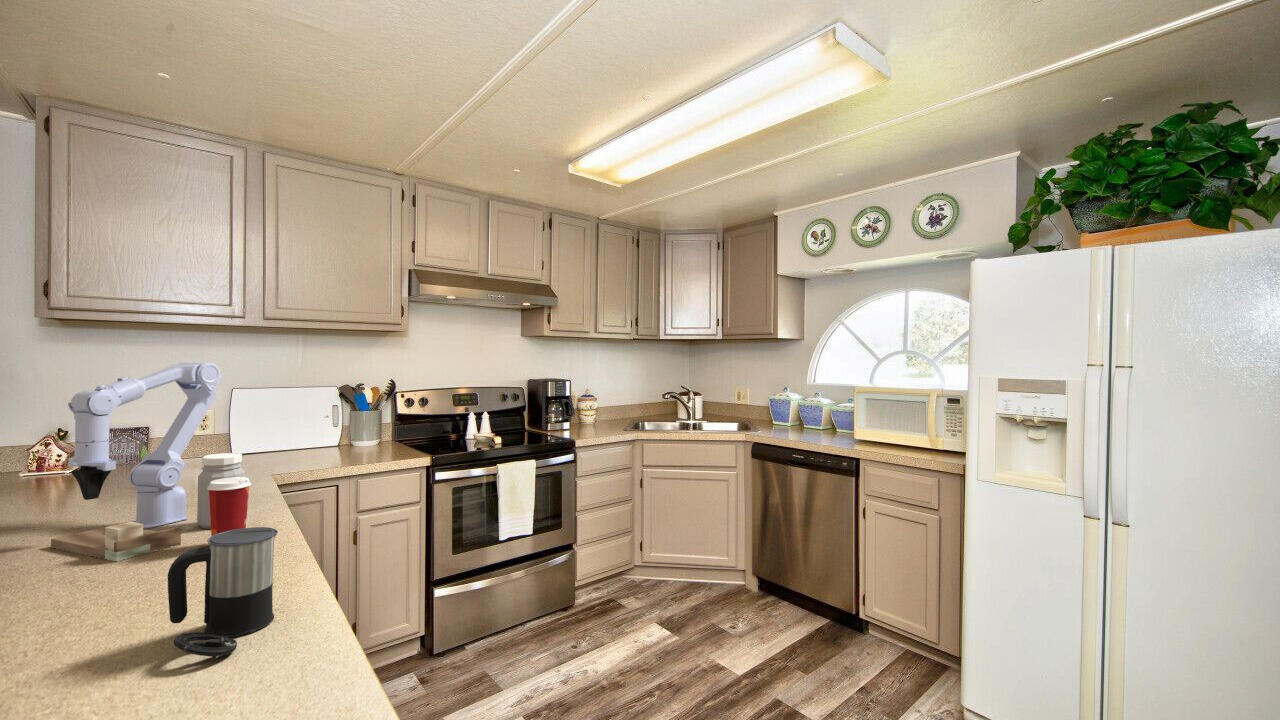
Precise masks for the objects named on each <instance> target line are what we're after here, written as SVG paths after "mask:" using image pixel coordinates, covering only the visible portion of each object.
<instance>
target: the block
mask: <svg viewBox="0 0 1280 720" xmlns="http://www.w3.org/2000/svg"><path fill="white" fill-rule="evenodd" d="M135 522H136V521H128V522H124V523H119V524H118V523H117V524H118V525H116V524H113V525H114V526H112V525H108V526H109V527H107V526H104V527H105V548H107V549H111V550H114V542H118V541H122V540H126V539H130V538H134V537H138V536H142V535H143V530H144V528H143V524H140V523H135Z"/></svg>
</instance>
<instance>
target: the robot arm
mask: <svg viewBox="0 0 1280 720" xmlns="http://www.w3.org/2000/svg"><path fill="white" fill-rule="evenodd" d="M222 378H223V376H222V374H221V371H220V369H219V366H217V365H216V364H215V363H214V362H208V361H207V362H186V361H183V362H178V363H177V364H171V365H169V366H167V367H165V368H162V369H160V370H158V371H155V372H153V373H151V374H150V373H149V374H147V375H145V376H143V377H140V378H138V379H137V378H135V377H130V376H128V377H127V376H120V377H118V378H117V381H114V382H111V383H108V384H105V385H103V384H100V385H97V386H96V387H95V389H94V390H81V391H79V392H77V393H76V394H74V395H73V396H72V398H71V400H70V402H68V403H67V406H68V409H69V411H71V412H72V414H73V420H74V424H75V425H74V457H69V458H68V460H67V461H68V462H67V467H80V468H79V469H75V470H71V472H70V473H71V475H72V476H73V477H74V479H75V480H76V481H77V484H78V486H79V490H80V492H81V494H82V497H83V500H85V501H90V500H95V499H99V498H100V494H101V491H102V488H103V486H104V483H105V481H106V479H107V477H108V476H109V475H110V474H111V472H112V471H115V470H117V461H115V460H112V459H111V458H110V423H111V422H110V415H111V414H112V413H113V412H114V411H115V410H116V408H118V407H120V406H123V405H126V404H129V403H131V402H135V401H137V400H139V399H141V398H143V397H144V396H145V393H146V392H147V391H149V390H152V389H156V388H158V387H162V386H164V385H165V386H166V385H168V384H170V383H174V382H175V383H176V384H177V385H178V387H179V388H180V389H181V391H183V393H184V395H186V397H187V400H186V401H185V402H184V404H183V406H182V408H181V409H180V411H179V413H178V414H177V415H176V417H175V419H174V420H173V422H172V423H171V425H170V427H169V429H168V430H167V431H166V433H165V435H164V436H163V438H162V439H161V441H160V443H159V445H158V447H157V448H156V449H155V450H153V451H152V452H150V453H149V454H147V455H145V456H144V457H143V458H142V459H141V461H140V462H139V463H137V465H135V466H133V468H132V469H130V470H131V471H130V472H129V475H128V479H129V482H130V484H131V485H132V486H134V489H135V491H136V514H135V516H136V517H135V518H136V519H135V521H134V522H135V523H140V524H143V529H144V530H145V529H146V530H148V529H151V528H155V527H159V526H164V525H169V524H171V523H177V522H180V521H181V522H182V521H185V520H188V519H189V517H188V516H187V493H186V490H185V489H184V487H183V486H181V485H178V483H179V482H180V481H181V478H182V472H183V469H184V467H185V465H186V464H185V462H184V460H183V459H182V458H181V456H182V455H183V454H184V452H185V450H186V448H187V447H188V445H189V443H190V442H191V441H192V438H193V437H194V435H195V433H196V431H197V430H198V428H199V426H200V425H201V423H202V422H203V420H204V418H205V416H206V415H207V413H208V411H209V410H210V408H211V407H212V405H213V402H214V400H215V397H216V392H217V388H218V385H219V383H220V382H221V380H222Z"/></svg>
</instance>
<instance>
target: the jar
mask: <svg viewBox="0 0 1280 720" xmlns="http://www.w3.org/2000/svg"><path fill="white" fill-rule="evenodd" d="M242 461H243V453H238V452H225V453H223V452H221V453H213V454H207V455H204V456H203V457H201V465H203V467H201V470H202V471H201V472H200V473H199V475H198V476H197V503H196V505H197V512H196V523H197V524H198V525H199V527H200V528H202V529H208V530H209V529H210V530H211V520H210V501H209V490H208V489H207V488H208V487H209V484H210V482H211V481H214V480H217V479H223V478H232V477H246V471H245V470H244V469H243V468H242V466H243V464H241V462H242ZM197 524H196V525H197Z"/></svg>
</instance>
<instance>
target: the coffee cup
mask: <svg viewBox="0 0 1280 720" xmlns="http://www.w3.org/2000/svg"><path fill="white" fill-rule="evenodd" d="M251 485H252V483H251V482H250V479H249V477H246V476H245V477H232V478H223V479H217V480H214V481H211V482H210V484H209V487H208V488H207V489H208V490H209V501H210V520H211V529H210V533H211V536H213V535H216V534H218V533H222V532H226V531H230V530H236V529H243V528H247V518H248V509H249V508H248V506H249V495H250V486H251ZM211 536H210V537H211Z"/></svg>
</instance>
